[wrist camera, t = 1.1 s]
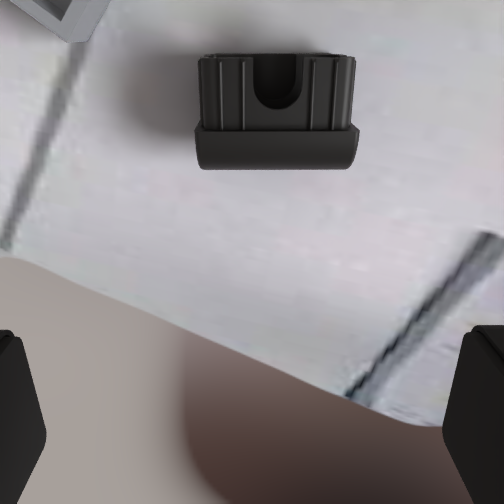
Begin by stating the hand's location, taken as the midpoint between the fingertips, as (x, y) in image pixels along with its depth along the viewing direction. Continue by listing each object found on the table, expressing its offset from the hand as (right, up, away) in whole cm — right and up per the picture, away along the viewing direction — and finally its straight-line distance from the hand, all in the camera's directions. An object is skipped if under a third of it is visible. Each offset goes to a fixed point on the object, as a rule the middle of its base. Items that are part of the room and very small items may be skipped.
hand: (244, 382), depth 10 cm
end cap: (+2, +13, +24) cm, 27 cm away
